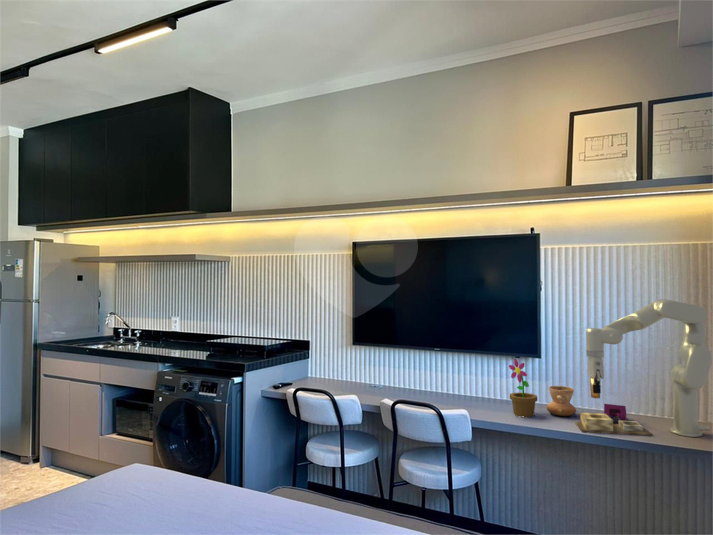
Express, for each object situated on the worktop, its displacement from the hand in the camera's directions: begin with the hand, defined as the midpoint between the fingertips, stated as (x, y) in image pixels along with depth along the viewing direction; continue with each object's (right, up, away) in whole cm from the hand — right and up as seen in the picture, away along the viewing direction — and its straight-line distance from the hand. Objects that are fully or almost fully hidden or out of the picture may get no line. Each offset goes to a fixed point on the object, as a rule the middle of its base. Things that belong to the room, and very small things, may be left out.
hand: (595, 391), depth 236 cm
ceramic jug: (-5, -19, +26) cm, 33 cm away
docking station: (+7, -18, -2) cm, 19 cm away
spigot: (0, -3, 0) cm, 3 cm away
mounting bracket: (+17, -19, +14) cm, 29 cm away
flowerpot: (-26, -19, +25) cm, 41 cm away
